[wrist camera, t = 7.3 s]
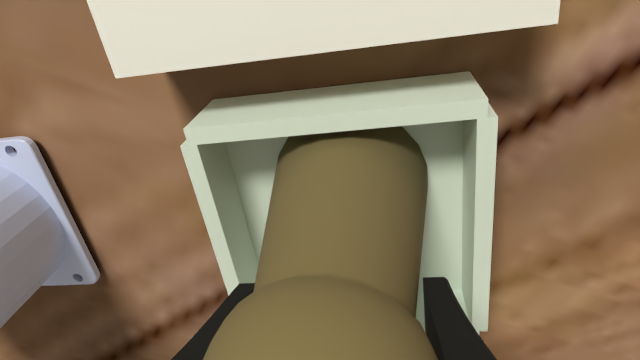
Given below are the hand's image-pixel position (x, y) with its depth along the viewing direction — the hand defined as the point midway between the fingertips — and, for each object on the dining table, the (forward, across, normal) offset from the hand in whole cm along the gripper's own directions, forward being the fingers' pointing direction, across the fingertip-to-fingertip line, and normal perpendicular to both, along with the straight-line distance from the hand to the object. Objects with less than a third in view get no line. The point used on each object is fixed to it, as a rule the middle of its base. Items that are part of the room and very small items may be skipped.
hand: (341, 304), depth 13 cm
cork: (+6, 0, -1) cm, 6 cm away
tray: (+6, 0, 0) cm, 6 cm away
